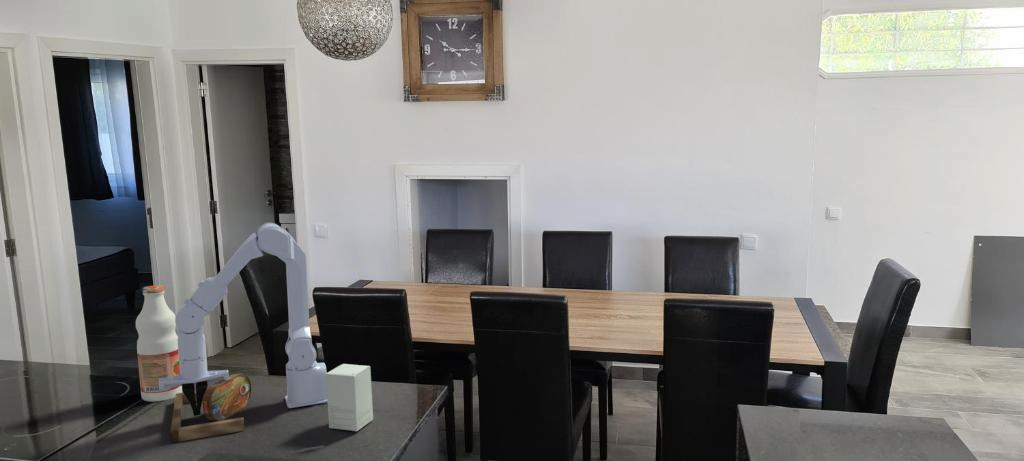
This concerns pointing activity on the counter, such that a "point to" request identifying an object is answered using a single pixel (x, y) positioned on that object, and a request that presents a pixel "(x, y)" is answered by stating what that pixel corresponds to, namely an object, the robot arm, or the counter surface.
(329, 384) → the supplement box
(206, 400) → the tin
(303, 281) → the robot arm
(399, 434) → the counter surface
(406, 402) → the counter surface
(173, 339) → the fruit juice
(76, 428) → the counter surface
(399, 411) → the counter surface
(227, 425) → the wooden u-shaped frame
